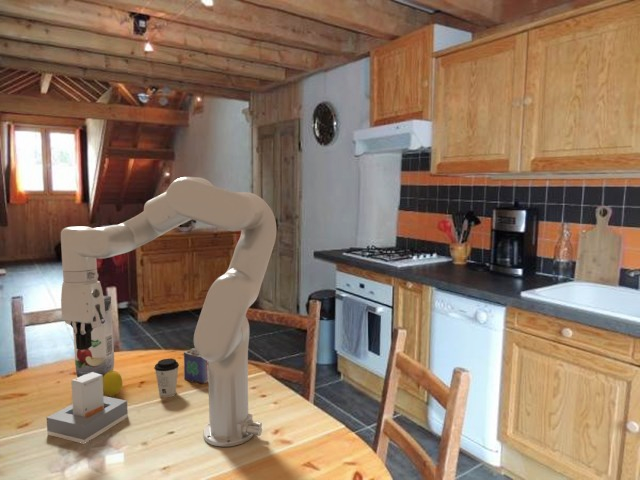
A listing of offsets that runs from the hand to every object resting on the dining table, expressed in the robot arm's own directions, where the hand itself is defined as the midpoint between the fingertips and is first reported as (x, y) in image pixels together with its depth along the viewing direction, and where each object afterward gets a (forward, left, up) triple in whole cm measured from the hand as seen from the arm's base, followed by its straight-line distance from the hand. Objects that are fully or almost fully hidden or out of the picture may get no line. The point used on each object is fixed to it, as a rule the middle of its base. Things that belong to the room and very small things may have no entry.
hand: (84, 347), depth 115 cm
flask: (-9, -33, -21) cm, 40 cm away
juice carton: (+25, -26, -21) cm, 42 cm away
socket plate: (0, 0, -21) cm, 21 cm away
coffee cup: (-7, -22, -21) cm, 31 cm away
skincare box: (0, 0, -20) cm, 20 cm away
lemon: (+7, -15, -21) cm, 27 cm away
